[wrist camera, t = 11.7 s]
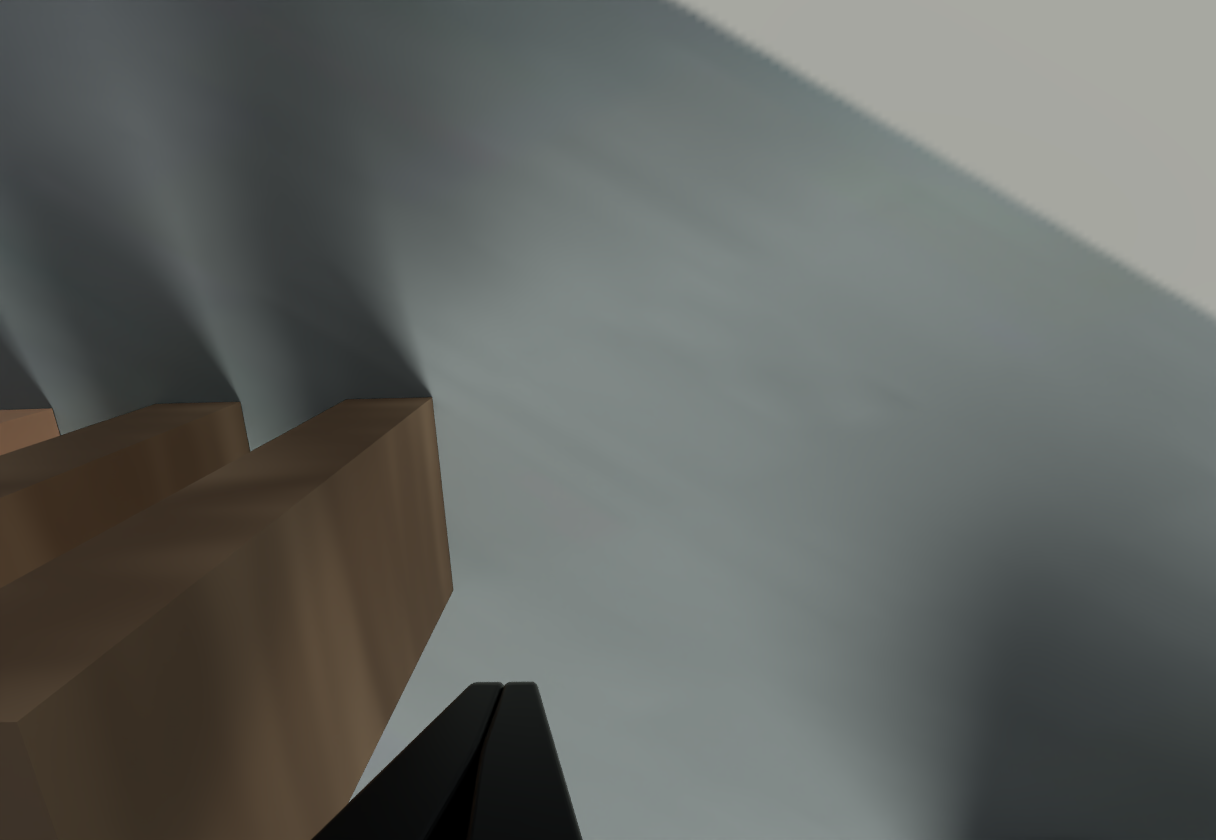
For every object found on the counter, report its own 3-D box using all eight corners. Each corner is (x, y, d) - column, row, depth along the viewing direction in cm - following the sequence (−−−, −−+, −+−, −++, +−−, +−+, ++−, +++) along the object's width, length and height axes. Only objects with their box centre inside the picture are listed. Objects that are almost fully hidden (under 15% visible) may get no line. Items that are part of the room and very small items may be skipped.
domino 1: (432, 396, 14) (17, 722, 4) (453, 589, 15) (172, 1161, 6) (346, 399, 14) (-252, 724, 4) (375, 591, 15) (-36, 1159, 6)
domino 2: (239, 401, 14) (-572, 727, 5) (277, 592, 15) (-286, 1155, 6) (155, 404, 14) (-823, 729, 5) (200, 593, 16) (-484, 1154, 6)
